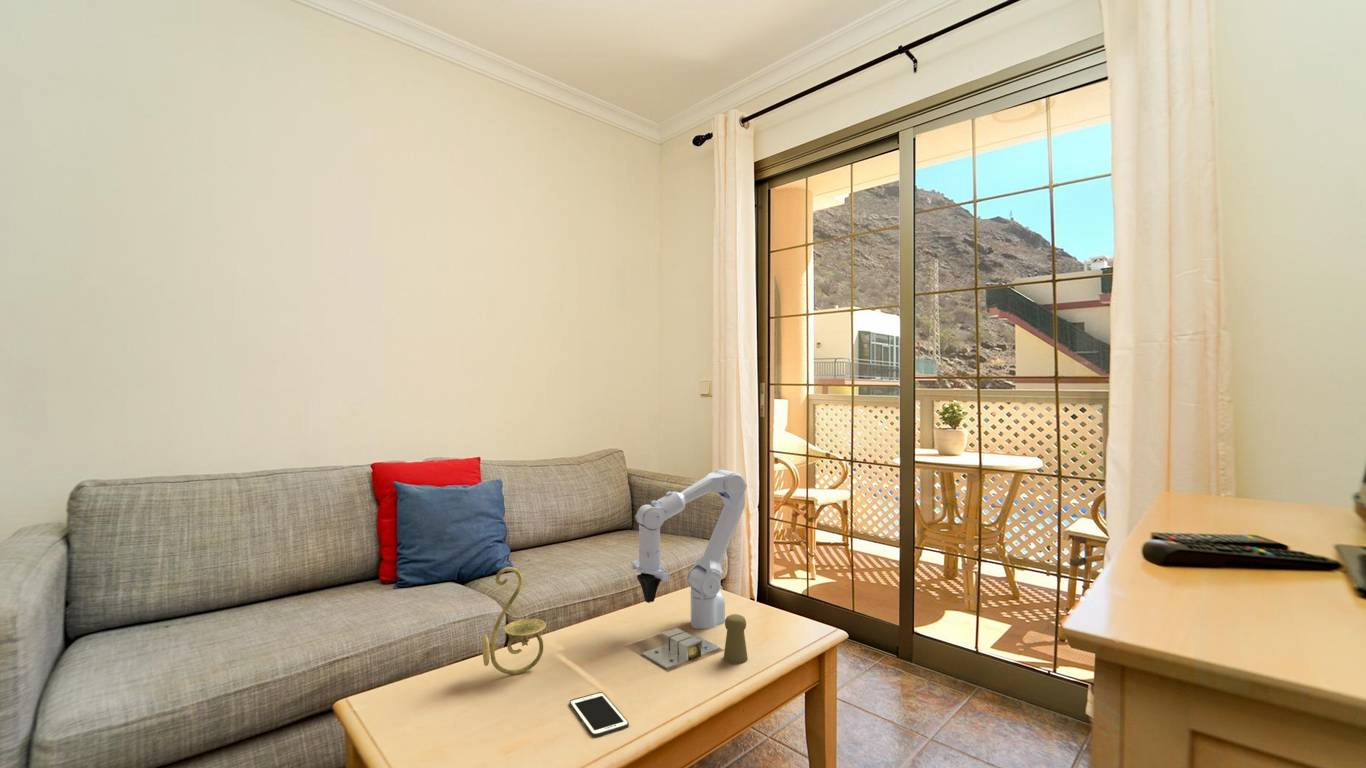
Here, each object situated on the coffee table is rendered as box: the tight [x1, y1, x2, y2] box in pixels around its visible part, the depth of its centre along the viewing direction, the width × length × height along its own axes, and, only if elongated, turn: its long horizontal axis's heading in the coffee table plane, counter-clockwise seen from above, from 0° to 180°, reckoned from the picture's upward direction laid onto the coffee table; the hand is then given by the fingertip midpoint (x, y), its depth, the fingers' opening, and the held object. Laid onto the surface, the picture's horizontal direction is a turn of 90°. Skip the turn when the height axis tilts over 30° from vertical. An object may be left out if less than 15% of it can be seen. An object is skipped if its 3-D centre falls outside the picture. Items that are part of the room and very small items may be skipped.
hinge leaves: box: [642, 627, 721, 669], centre depth 146 cm, size 17×10×4 cm, turn 129°
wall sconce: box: [481, 566, 547, 676], centre depth 136 cm, size 14×10×25 cm
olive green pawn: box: [723, 613, 748, 665], centre depth 142 cm, size 6×6×11 cm
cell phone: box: [568, 691, 630, 739], centre depth 119 cm, size 8×15×1 cm, turn 30°
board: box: [624, 627, 725, 673], centre depth 148 cm, size 18×18×1 cm
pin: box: [688, 646, 698, 659], centre depth 146 cm, size 10×3×3 cm, turn 39°
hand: (649, 601), depth 157 cm, fingers closed
